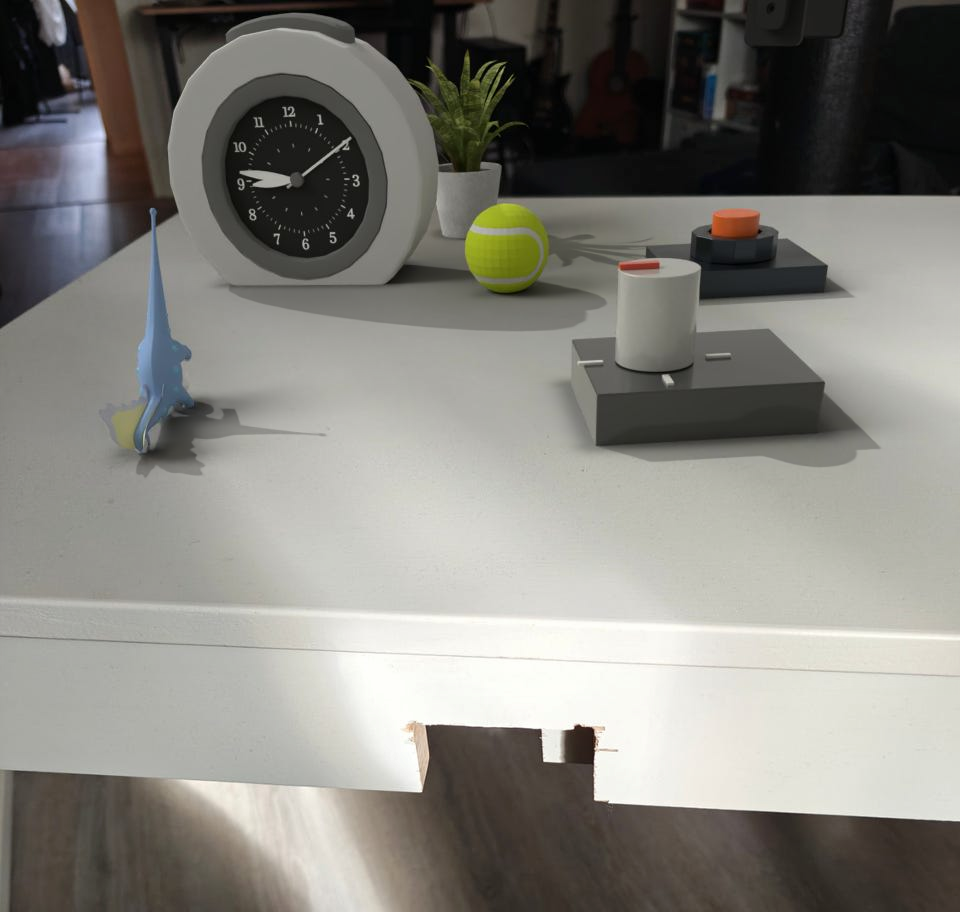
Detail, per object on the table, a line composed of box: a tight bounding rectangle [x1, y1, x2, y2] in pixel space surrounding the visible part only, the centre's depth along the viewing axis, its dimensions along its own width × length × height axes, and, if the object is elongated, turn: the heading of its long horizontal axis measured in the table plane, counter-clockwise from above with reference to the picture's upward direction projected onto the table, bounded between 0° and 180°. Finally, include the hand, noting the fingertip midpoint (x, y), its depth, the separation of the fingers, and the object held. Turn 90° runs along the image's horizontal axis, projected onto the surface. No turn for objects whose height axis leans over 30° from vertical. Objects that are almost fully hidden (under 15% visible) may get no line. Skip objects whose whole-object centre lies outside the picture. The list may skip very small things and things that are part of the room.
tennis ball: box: [464, 203, 550, 294], centre depth 81 cm, size 7×7×7 cm
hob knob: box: [615, 258, 701, 372], centre depth 56 cm, size 4×4×5 cm
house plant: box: [405, 48, 530, 239], centre depth 99 cm, size 14×14×16 cm
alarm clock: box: [167, 12, 440, 286], centre depth 85 cm, size 21×8×20 cm, turn 82°
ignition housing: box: [645, 223, 829, 300], centre depth 81 cm, size 12×10×4 cm
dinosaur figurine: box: [98, 207, 195, 455], centre depth 58 cm, size 3×15×10 cm
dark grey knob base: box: [570, 328, 826, 447], centre depth 58 cm, size 12×10×3 cm
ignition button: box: [711, 208, 761, 237], centre depth 80 cm, size 4×4×2 cm
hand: (796, 41), depth 61 cm, fingers open, 9 cm apart
